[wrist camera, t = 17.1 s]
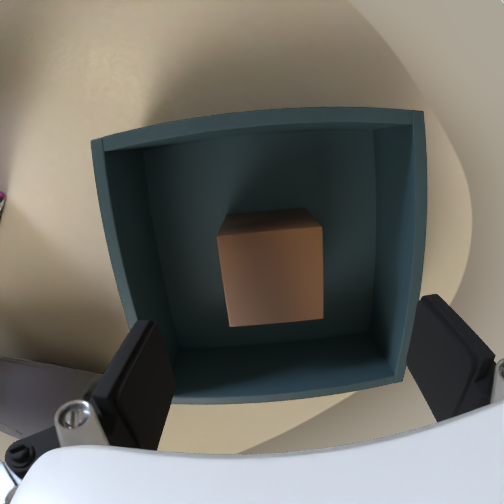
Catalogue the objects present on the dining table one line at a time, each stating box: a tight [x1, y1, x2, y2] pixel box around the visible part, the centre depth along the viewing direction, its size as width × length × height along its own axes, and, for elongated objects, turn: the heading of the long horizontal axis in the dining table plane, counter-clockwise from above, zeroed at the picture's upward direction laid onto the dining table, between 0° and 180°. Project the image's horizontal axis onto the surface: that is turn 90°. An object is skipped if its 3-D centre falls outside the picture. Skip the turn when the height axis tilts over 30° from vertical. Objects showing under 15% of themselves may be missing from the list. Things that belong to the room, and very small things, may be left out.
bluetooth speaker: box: [0, 356, 103, 439], centre depth 23 cm, size 23×9×10 cm, turn 96°
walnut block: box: [217, 208, 324, 327], centre depth 19 cm, size 6×6×6 cm
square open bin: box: [91, 107, 427, 404], centre depth 19 cm, size 18×18×7 cm
